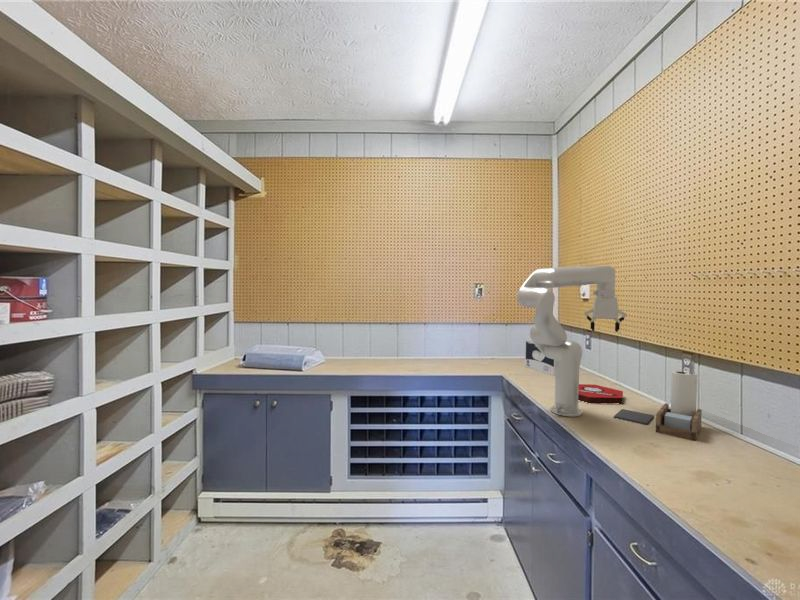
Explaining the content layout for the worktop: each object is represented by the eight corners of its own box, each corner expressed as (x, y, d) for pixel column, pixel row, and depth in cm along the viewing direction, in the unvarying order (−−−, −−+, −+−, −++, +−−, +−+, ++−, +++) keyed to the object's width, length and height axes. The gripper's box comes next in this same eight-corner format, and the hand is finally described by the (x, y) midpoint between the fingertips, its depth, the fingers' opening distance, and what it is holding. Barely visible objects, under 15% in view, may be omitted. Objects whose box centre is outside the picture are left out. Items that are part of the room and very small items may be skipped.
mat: (647, 425, 154) (647, 423, 154) (613, 417, 162) (613, 416, 162) (653, 417, 164) (653, 415, 164) (622, 410, 172) (622, 408, 172)
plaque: (622, 409, 176) (622, 394, 202) (622, 401, 176) (623, 388, 202) (559, 400, 189) (567, 387, 215) (559, 393, 189) (567, 381, 215)
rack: (695, 440, 138) (696, 421, 138) (655, 432, 146) (656, 413, 146) (700, 427, 153) (701, 409, 152) (664, 419, 161) (665, 403, 160)
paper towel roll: (666, 423, 156) (668, 371, 155) (676, 422, 158) (678, 370, 157) (685, 430, 149) (687, 375, 148) (695, 428, 151) (697, 374, 151)
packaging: (524, 366, 272) (525, 338, 271) (531, 366, 274) (532, 338, 273) (554, 375, 243) (555, 344, 243) (562, 375, 245) (563, 344, 244)
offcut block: (689, 436, 142) (690, 420, 142) (664, 430, 148) (664, 415, 148) (691, 432, 147) (692, 416, 147) (666, 427, 152) (667, 412, 152)
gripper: (585, 293, 177) (584, 331, 178) (628, 294, 171) (627, 332, 171) (584, 293, 184) (583, 329, 185) (625, 294, 178) (624, 331, 179)
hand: (604, 331), depth 178 cm, fingers open, 9 cm apart
